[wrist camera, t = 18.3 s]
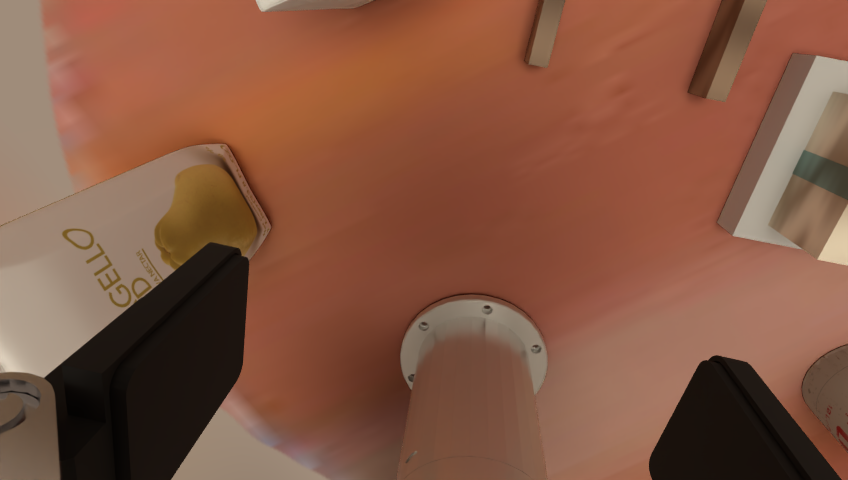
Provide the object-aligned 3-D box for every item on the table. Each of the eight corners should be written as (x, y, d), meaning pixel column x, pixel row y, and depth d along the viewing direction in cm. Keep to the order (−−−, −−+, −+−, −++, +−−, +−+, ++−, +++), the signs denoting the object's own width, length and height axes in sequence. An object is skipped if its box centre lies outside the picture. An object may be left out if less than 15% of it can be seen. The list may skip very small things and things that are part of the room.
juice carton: (287, 233, 41) (72, 475, 19) (208, 262, 43) (-71, 513, 21) (230, 126, 38) (-106, 269, 16) (146, 162, 40) (-256, 334, 18)
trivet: (851, 249, 37) (875, 263, 35) (716, 222, 37) (732, 235, 35) (947, 82, 32) (983, 87, 30) (792, 53, 32) (816, 55, 30)
